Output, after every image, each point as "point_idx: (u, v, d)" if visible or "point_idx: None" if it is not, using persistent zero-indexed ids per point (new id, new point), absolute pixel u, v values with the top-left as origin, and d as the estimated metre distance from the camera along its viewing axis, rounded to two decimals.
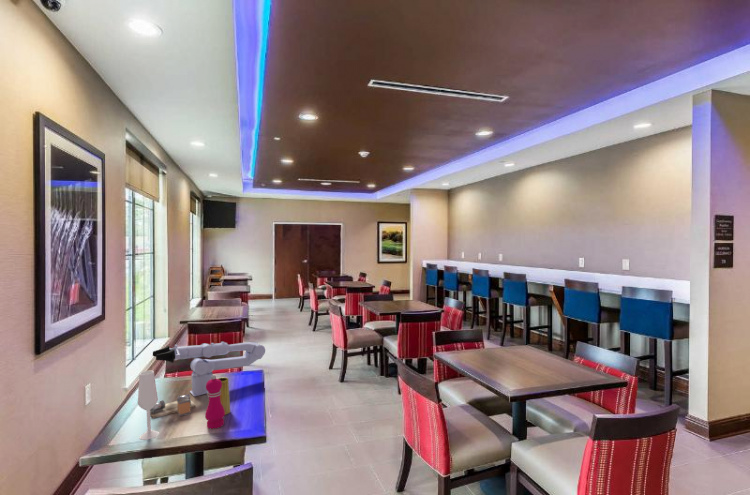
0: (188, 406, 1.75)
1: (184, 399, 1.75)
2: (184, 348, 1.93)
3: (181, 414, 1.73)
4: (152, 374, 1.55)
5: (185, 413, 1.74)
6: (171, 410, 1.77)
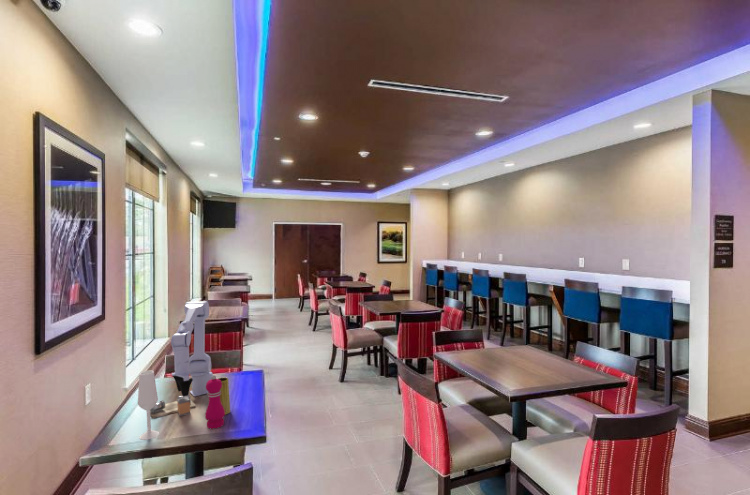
0: (188, 406, 1.75)
1: (184, 399, 1.75)
2: (177, 366, 1.72)
3: (181, 414, 1.73)
4: (152, 374, 1.55)
5: (185, 413, 1.74)
6: (171, 410, 1.77)
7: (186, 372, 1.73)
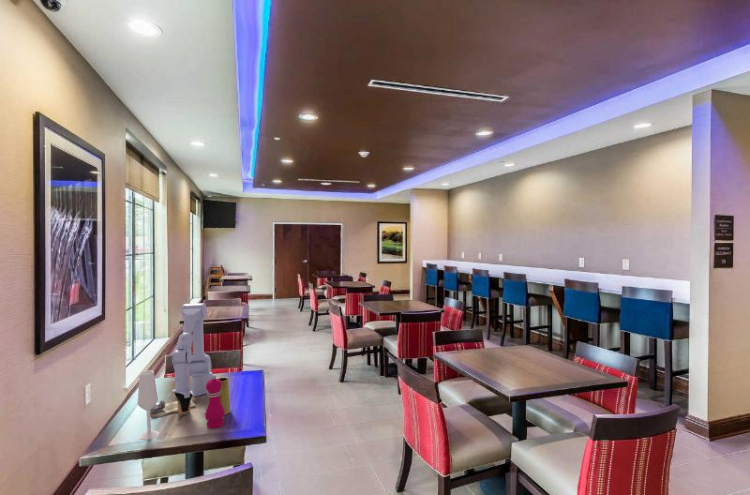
0: None
1: None
2: (177, 383, 1.72)
3: (181, 414, 1.73)
4: (152, 374, 1.55)
5: (185, 413, 1.74)
6: (171, 410, 1.77)
7: (187, 389, 1.74)
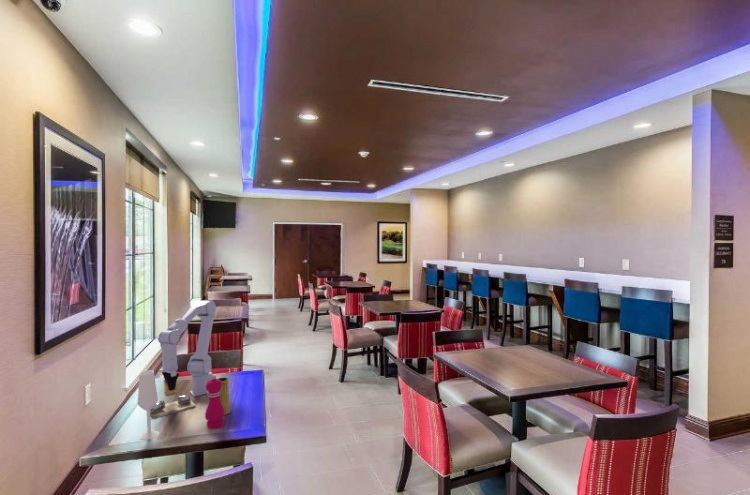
0: None
1: None
2: (164, 362, 1.77)
3: (168, 394, 1.78)
4: (152, 374, 1.55)
5: (172, 393, 1.79)
6: (171, 410, 1.77)
7: (173, 368, 1.79)
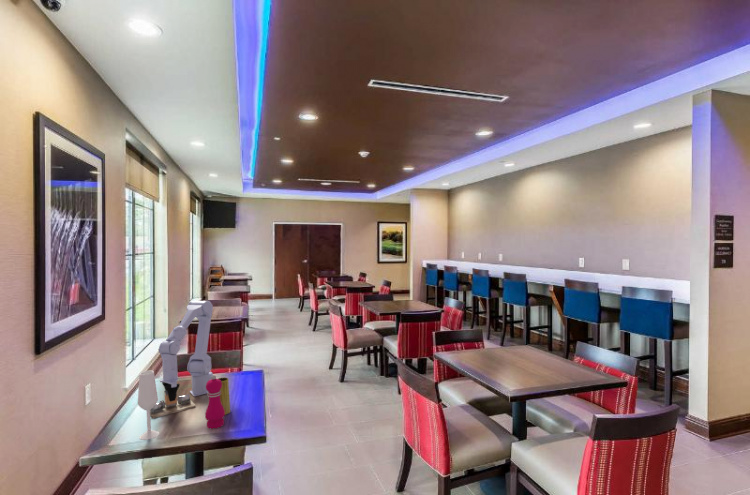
0: None
1: None
2: (165, 373, 1.78)
3: (168, 405, 1.78)
4: (152, 374, 1.55)
5: (172, 404, 1.79)
6: (171, 410, 1.77)
7: (174, 379, 1.79)
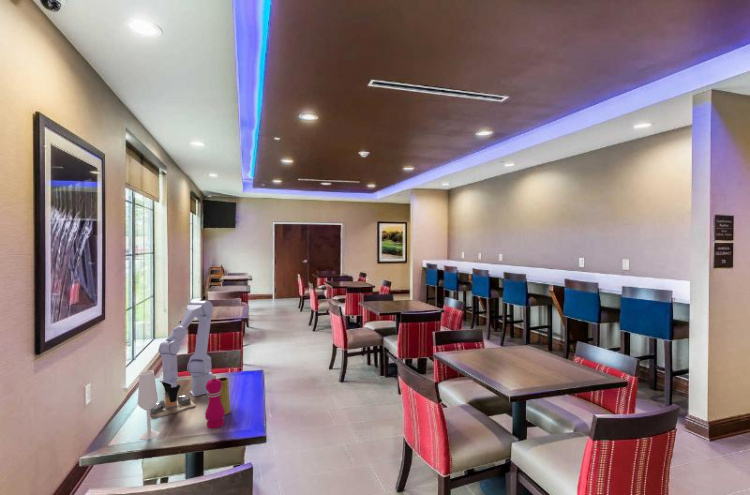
0: None
1: None
2: (165, 373, 1.78)
3: (168, 407, 1.78)
4: (152, 374, 1.55)
5: (172, 406, 1.79)
6: (171, 410, 1.77)
7: (174, 379, 1.79)
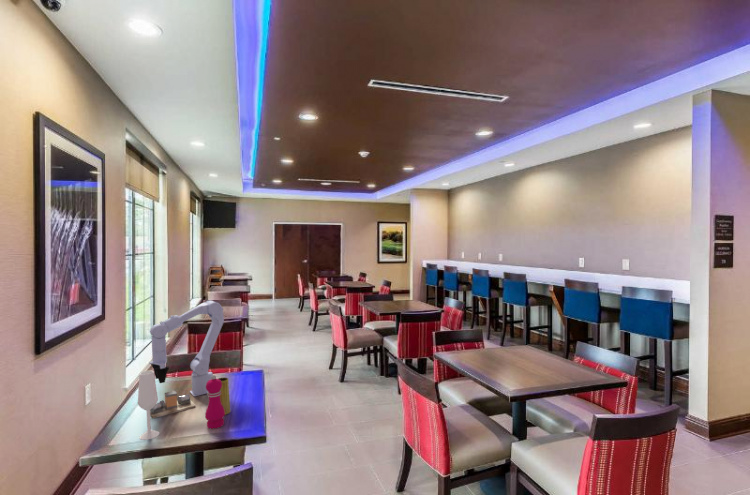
0: (175, 399, 1.80)
1: (171, 393, 1.80)
2: (154, 355, 1.85)
3: (168, 407, 1.78)
4: (152, 374, 1.55)
5: (172, 406, 1.79)
6: (171, 410, 1.77)
7: (163, 361, 1.87)
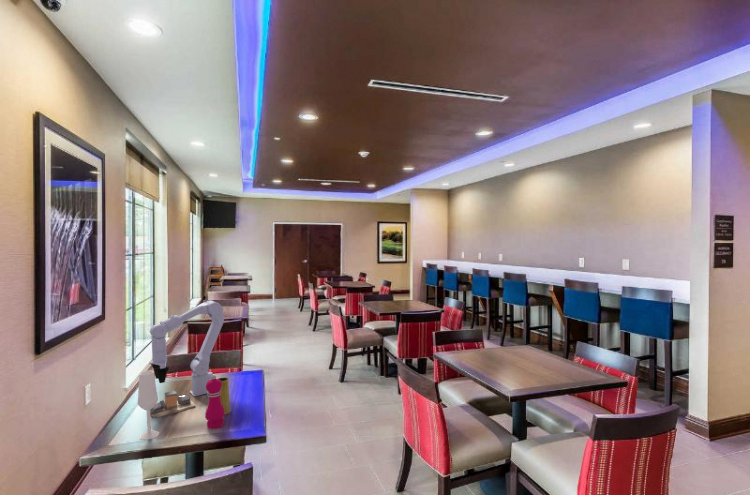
0: (175, 399, 1.80)
1: (171, 393, 1.80)
2: (154, 355, 1.85)
3: (168, 407, 1.78)
4: (152, 374, 1.55)
5: (172, 406, 1.79)
6: (171, 410, 1.77)
7: (163, 361, 1.87)
